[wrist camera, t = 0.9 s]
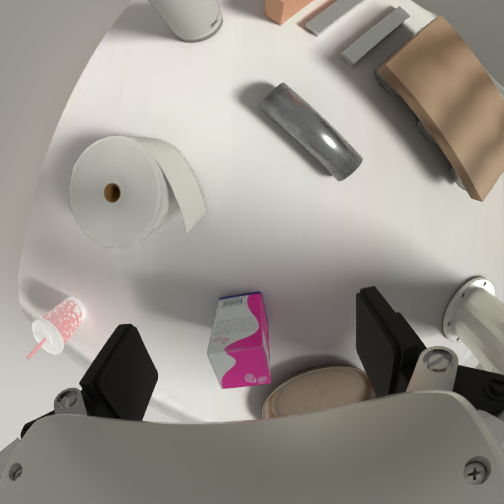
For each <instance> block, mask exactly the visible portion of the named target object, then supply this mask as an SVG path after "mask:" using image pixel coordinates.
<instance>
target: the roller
mask: <svg viewBox="0 0 504 504" xmlns="http://www.w3.org/2000/svg"><path fill="white" fill-rule="evenodd" d="M259 108H260V109H262V110H263V111H264V112H265V113H266V114H268V115H269V116H270V117H271V118H272V119H273V120H274V121H276V122H277V123H278V124H279V125H280V126H281V127H282V128H284V129H285V130H286V131H287V132H288V133H289V134H290V135H291V136H292V137H293V138H295V139H296V140H297V141H298V142H299V143H300V144H301V145H302V146H303V147H304V148H305V149H306V150H307V151H308V152H309V153H310V154H312V155H313V156H314V157H315V158H316V159H317V160H318V161H319V162H320V163H321V164H322V165H323V166H324V167H325V168H326V169H327V170H328V171H329V172H330V173H331V174H332V175H333V176H334V177H335V178H336V180H337V181H342V180H344V179H346V178H347V177H348V176H350V175H351V174H352V173H353V172H354V171H355V170H356V169H357V168H358V167H359V165H360V164H361V162H362V160H363V158H362V157H361V156H360V155H359V154H358V153H357V151H356V150H355V149H354V148H353V147H352V146H351V145H350V144H349V143H348V142H347V141H346V140H345V139H344V138H343V137H342V136H341V135H340V134H339V133H338V132H337V131H336V130H335V129H334V128H333V127H332V126H331V125H330V124H329V123H328V122H327V121H326V120H325V119H324V118H323V117H322V116H321V115H320V114H319V113H318V112H317V111H316V110H315V109H313V108H312V107H311V106H310V105H309V104H308V103H307V102H306V101H305V100H303V99H302V98H301V97H300V96H299V95H298V94H297V93H296V92H294V91H293V90H292V89H291V88H290V87H288V86H287V85H286V84H285V83H281V84H280V85H279V86H278V87H276V88H275V89H274V90H273V91H272V92H271V93H270V94H269V95H268V96H267V97H266V99H265V100H264V101H263V102H262V104H261V105H260V107H259Z"/></svg>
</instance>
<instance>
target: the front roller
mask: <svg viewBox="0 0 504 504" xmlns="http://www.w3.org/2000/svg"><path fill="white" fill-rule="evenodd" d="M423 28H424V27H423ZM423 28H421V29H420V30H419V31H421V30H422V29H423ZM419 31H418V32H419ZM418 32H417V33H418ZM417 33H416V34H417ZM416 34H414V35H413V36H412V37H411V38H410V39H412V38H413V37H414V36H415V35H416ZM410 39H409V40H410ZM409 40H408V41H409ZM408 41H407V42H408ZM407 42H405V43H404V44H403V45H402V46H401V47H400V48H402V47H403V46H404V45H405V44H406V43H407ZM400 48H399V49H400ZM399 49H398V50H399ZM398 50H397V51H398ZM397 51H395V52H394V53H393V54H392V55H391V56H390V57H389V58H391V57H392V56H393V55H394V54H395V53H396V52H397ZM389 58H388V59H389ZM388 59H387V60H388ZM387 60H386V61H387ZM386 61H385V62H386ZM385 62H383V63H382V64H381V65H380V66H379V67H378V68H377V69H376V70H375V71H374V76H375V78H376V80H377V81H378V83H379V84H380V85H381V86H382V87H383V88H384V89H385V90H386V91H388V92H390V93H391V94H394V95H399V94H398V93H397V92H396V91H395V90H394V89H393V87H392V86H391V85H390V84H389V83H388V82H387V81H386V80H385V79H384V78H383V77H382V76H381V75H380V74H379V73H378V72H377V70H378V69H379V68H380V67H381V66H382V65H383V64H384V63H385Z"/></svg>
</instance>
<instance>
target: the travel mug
mask: <svg viewBox="0 0 504 504" xmlns="http://www.w3.org/2000/svg"><path fill="white" fill-rule="evenodd" d="M148 1H149V2H150V3H151V4H152V5H153V7H154V8H155V9H156V10H157V12H158V13H159V14H160V15H161V17H162V18H163V19H164V21H165V22H166V23H167V24H168V26H169V27H170V28H171V30H172V31H173V32H174V34H175V35H176V36H177V37H178V38H179V39H181V40H183V41H186V42H200V41H203V40H206V39H208V38H210V37H212V36H213V35H215V34H216V33H217V32H218V30H219V29H220V27H221V25H222V21H223V20H222V14H221V11H220V7H219V4H218V1H217V0H148Z"/></svg>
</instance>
